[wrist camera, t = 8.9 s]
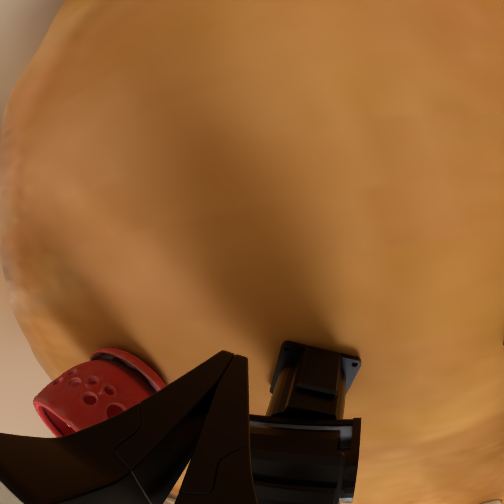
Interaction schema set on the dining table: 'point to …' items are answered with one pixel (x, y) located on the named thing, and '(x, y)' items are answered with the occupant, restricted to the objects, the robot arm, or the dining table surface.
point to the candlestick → (493, 502)
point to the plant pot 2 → (95, 391)
